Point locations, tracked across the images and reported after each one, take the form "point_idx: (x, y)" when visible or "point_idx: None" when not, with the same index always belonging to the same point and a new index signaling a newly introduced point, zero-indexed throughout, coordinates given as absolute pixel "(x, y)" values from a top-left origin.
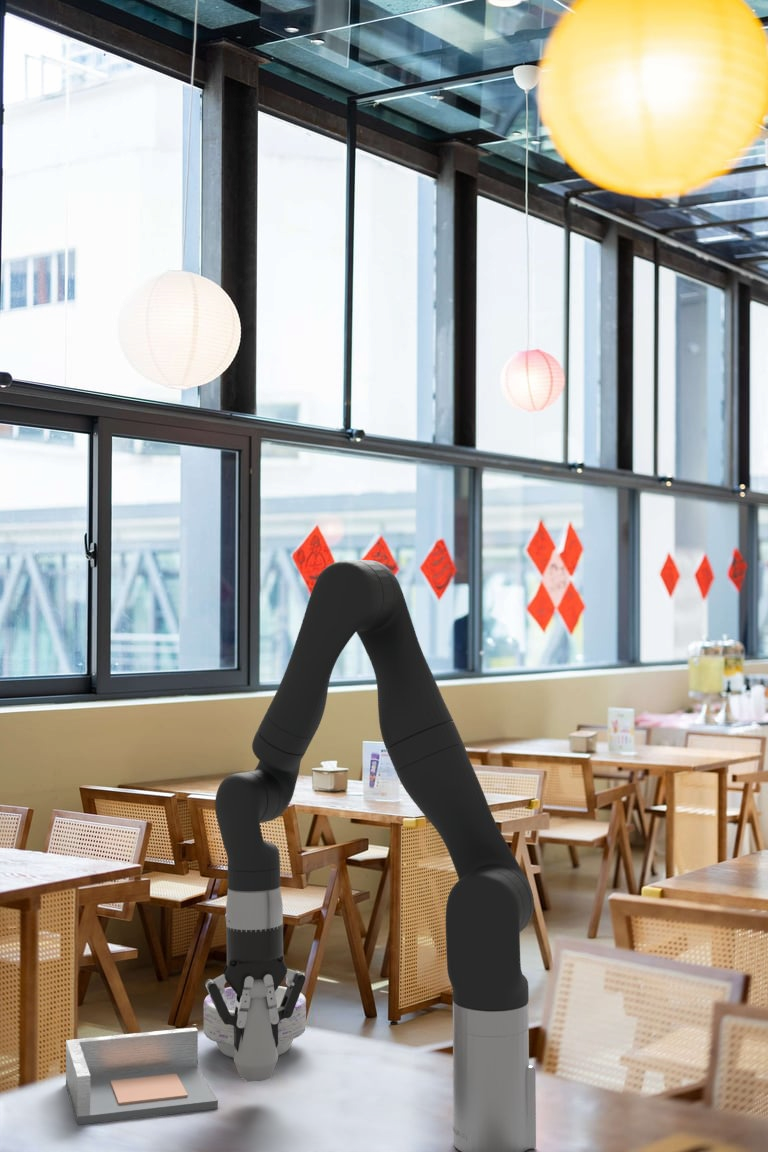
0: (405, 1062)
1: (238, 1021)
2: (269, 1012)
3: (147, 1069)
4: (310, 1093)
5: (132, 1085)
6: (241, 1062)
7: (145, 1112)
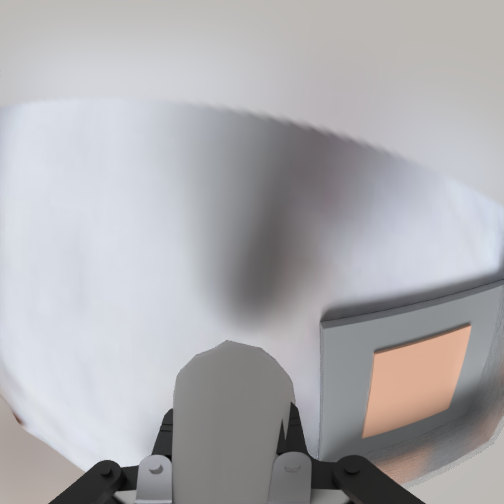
0: (35, 409)
1: (304, 470)
2: (169, 491)
3: (393, 446)
4: (134, 357)
5: (434, 394)
6: (281, 371)
7: (443, 300)
